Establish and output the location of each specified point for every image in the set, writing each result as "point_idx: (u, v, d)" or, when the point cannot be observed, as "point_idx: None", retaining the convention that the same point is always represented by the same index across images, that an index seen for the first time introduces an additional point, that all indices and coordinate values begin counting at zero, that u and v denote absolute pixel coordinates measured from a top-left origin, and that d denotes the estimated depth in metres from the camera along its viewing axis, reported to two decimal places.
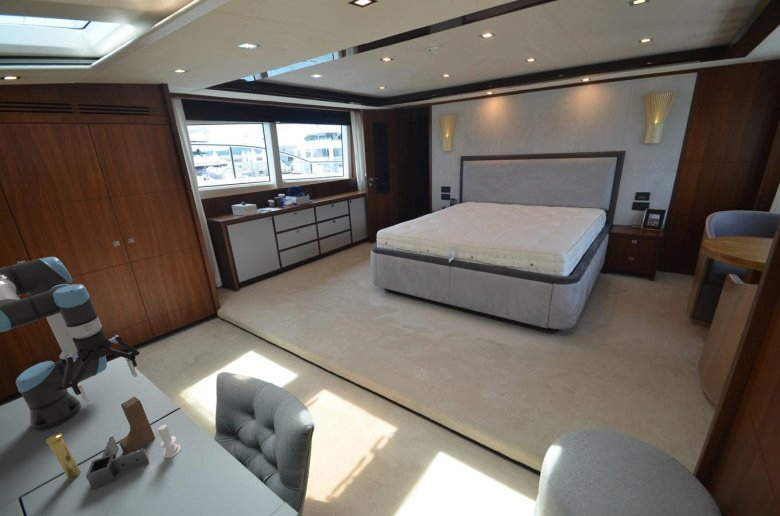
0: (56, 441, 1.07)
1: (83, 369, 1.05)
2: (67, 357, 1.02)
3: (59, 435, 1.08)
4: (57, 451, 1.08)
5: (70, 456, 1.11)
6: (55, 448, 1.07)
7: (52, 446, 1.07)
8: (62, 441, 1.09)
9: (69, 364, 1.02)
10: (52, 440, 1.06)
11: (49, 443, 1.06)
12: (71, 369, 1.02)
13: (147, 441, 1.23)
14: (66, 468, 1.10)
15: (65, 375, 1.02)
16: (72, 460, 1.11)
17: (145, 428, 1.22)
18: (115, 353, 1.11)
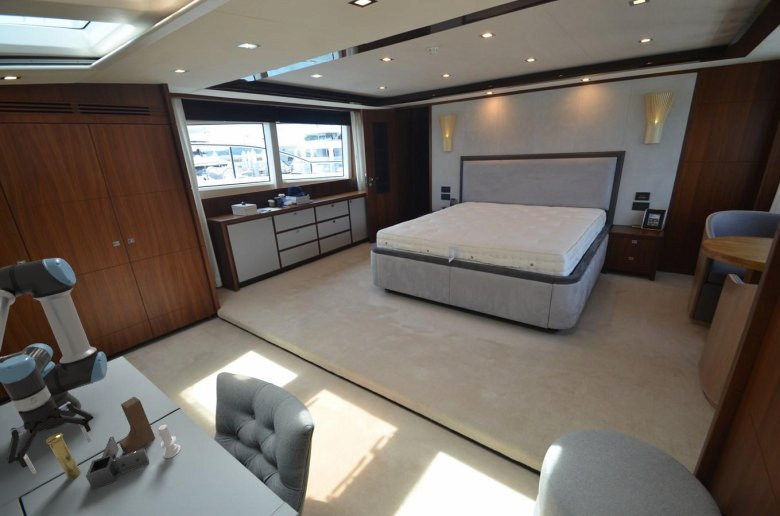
0: (56, 441, 1.07)
1: (30, 441, 1.02)
2: (12, 431, 0.99)
3: (59, 435, 1.08)
4: (57, 451, 1.08)
5: (70, 456, 1.11)
6: (55, 448, 1.07)
7: (52, 446, 1.07)
8: (62, 441, 1.09)
9: (14, 438, 0.99)
10: (52, 440, 1.06)
11: (49, 443, 1.06)
12: (16, 443, 1.00)
13: (147, 441, 1.23)
14: (66, 468, 1.10)
15: (10, 449, 0.99)
16: (72, 460, 1.11)
17: (145, 428, 1.22)
18: (66, 421, 1.08)
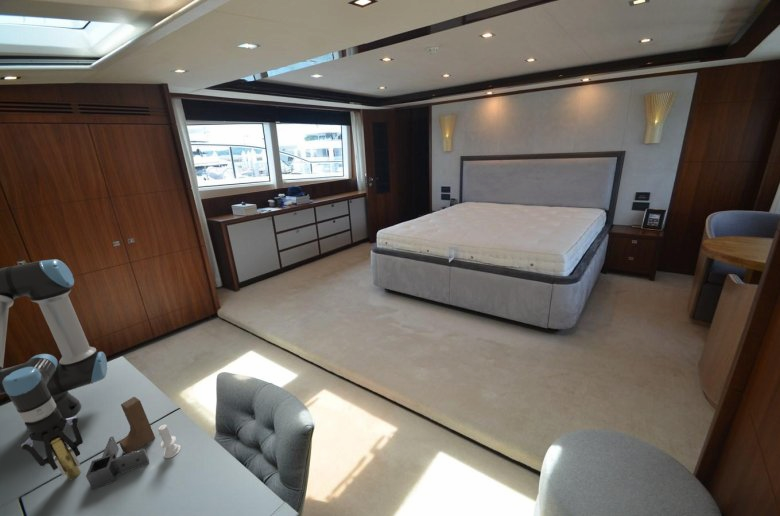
0: (56, 441, 1.07)
1: (48, 448, 1.06)
2: (22, 446, 1.01)
3: None
4: (58, 451, 1.08)
5: (70, 456, 1.11)
6: (55, 448, 1.07)
7: (52, 446, 1.07)
8: (62, 441, 1.09)
9: (28, 450, 1.02)
10: (52, 440, 1.06)
11: None
12: (35, 452, 1.03)
13: (147, 441, 1.23)
14: (66, 468, 1.10)
15: (34, 457, 1.04)
16: (72, 460, 1.11)
17: (145, 428, 1.22)
18: (63, 437, 1.09)
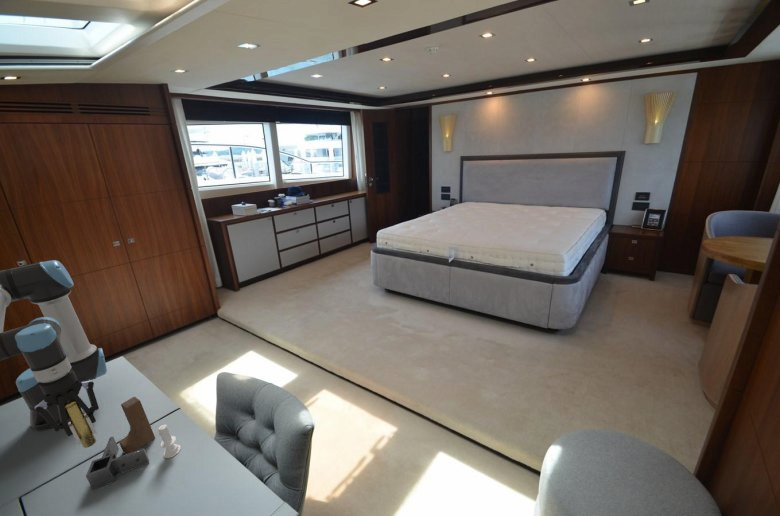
0: (71, 405, 1.00)
1: (63, 412, 0.99)
2: (35, 408, 0.94)
3: None
4: (73, 416, 1.01)
5: (85, 422, 1.04)
6: (70, 413, 1.00)
7: (67, 410, 1.00)
8: (77, 406, 1.02)
9: (42, 413, 0.95)
10: (67, 404, 0.99)
11: None
12: (49, 415, 0.96)
13: (147, 441, 1.23)
14: (81, 435, 1.03)
15: (48, 421, 0.97)
16: (87, 427, 1.04)
17: (145, 428, 1.22)
18: (79, 402, 1.02)
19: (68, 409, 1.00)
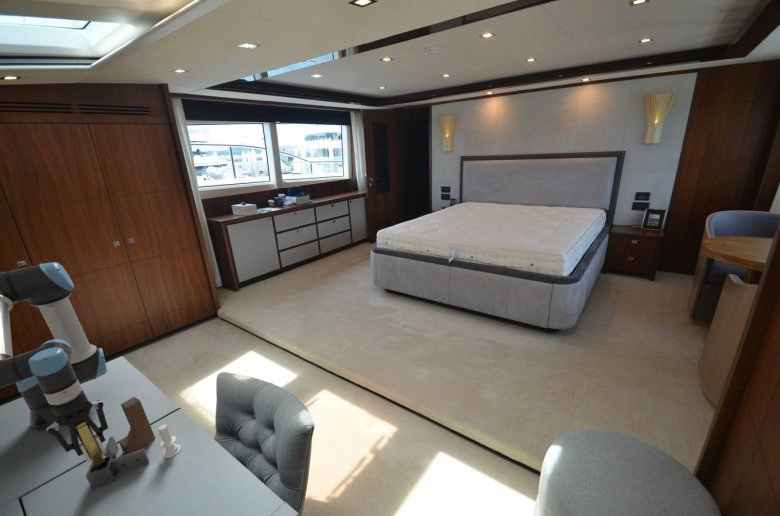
0: (81, 426, 1.03)
1: (74, 432, 1.02)
2: (47, 430, 0.97)
3: (84, 420, 1.04)
4: (83, 436, 1.03)
5: (95, 442, 1.07)
6: (80, 433, 1.03)
7: (78, 431, 1.02)
8: (87, 426, 1.04)
9: (54, 434, 0.98)
10: (78, 424, 1.02)
11: None
12: (60, 436, 0.99)
13: (147, 441, 1.23)
14: (91, 454, 1.06)
15: None
16: (97, 446, 1.07)
17: (145, 428, 1.22)
18: (89, 422, 1.04)
19: (79, 430, 1.02)
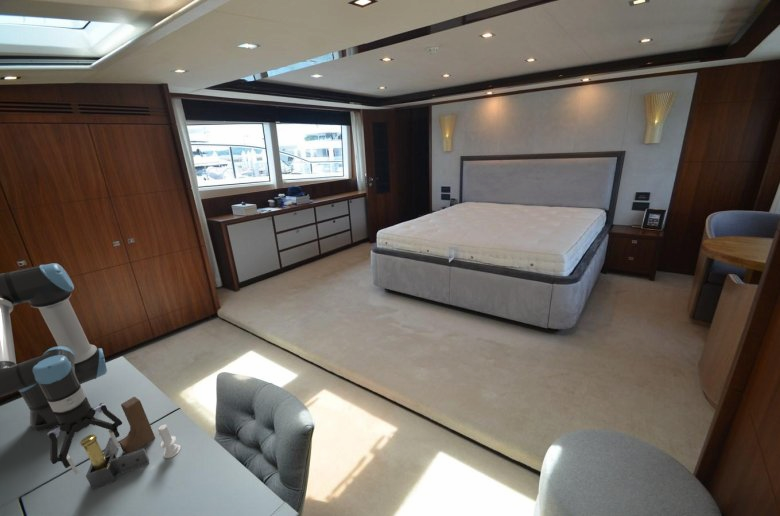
0: (90, 443, 1.05)
1: (69, 442, 1.01)
2: (48, 434, 0.98)
3: (93, 437, 1.06)
4: (92, 453, 1.06)
5: (103, 458, 1.09)
6: (89, 450, 1.05)
7: (86, 448, 1.05)
8: (96, 443, 1.07)
9: (52, 440, 0.98)
10: (87, 442, 1.05)
11: (84, 445, 1.04)
12: (56, 444, 0.99)
13: (147, 441, 1.23)
14: None
15: (51, 451, 0.99)
16: (105, 462, 1.10)
17: (145, 428, 1.22)
18: (98, 424, 1.06)
19: (88, 447, 1.05)
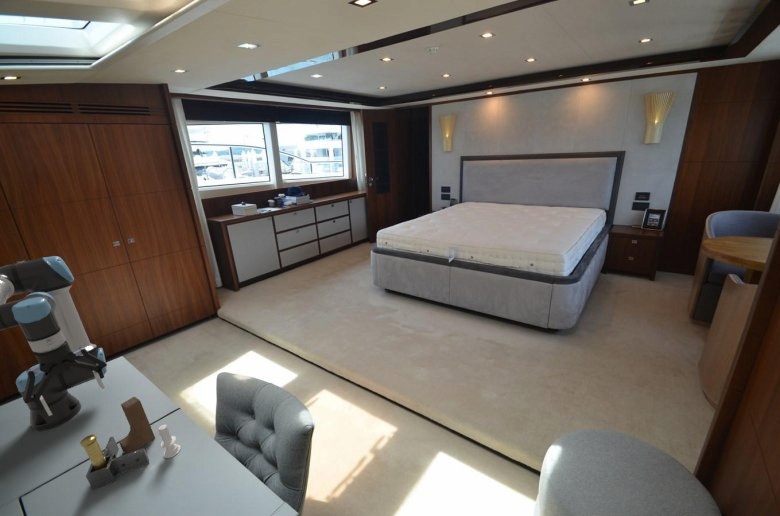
0: (90, 443, 1.05)
1: (46, 383, 1.03)
2: (28, 371, 1.00)
3: (93, 437, 1.06)
4: (92, 453, 1.06)
5: (103, 458, 1.09)
6: (89, 450, 1.05)
7: (86, 448, 1.05)
8: (96, 443, 1.07)
9: (30, 378, 1.00)
10: (87, 442, 1.05)
11: (84, 445, 1.04)
12: (32, 383, 1.00)
13: (147, 441, 1.23)
14: None
15: (26, 389, 1.00)
16: (105, 462, 1.10)
17: (145, 428, 1.22)
18: (80, 366, 1.09)
19: (88, 447, 1.05)
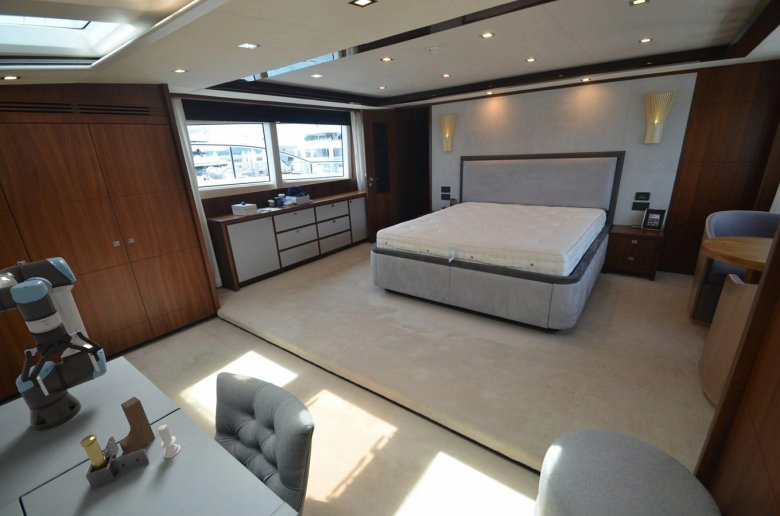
0: (90, 443, 1.05)
1: (42, 363, 1.07)
2: (26, 351, 1.04)
3: (93, 437, 1.06)
4: (92, 453, 1.06)
5: (103, 458, 1.09)
6: (89, 450, 1.05)
7: (86, 448, 1.05)
8: (96, 443, 1.07)
9: (27, 357, 1.04)
10: (87, 442, 1.05)
11: (84, 445, 1.04)
12: (30, 363, 1.05)
13: (147, 441, 1.23)
14: None
15: (24, 369, 1.04)
16: (105, 462, 1.10)
17: (145, 428, 1.22)
18: (76, 348, 1.13)
19: (88, 447, 1.05)
